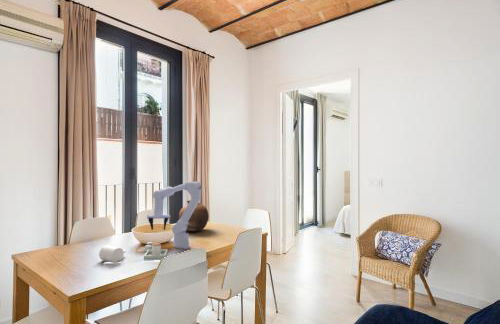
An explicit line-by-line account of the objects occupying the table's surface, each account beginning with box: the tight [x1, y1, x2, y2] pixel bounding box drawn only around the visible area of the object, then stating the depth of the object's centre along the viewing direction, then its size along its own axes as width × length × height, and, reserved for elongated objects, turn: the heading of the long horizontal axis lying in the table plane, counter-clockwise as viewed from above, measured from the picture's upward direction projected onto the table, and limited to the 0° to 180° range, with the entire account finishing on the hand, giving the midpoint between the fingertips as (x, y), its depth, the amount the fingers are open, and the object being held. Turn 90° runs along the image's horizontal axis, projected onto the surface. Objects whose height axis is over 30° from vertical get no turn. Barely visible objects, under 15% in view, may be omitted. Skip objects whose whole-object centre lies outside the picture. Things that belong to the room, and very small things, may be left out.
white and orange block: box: [151, 242, 162, 255], centre depth 171 cm, size 4×4×7 cm
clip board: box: [135, 241, 163, 253], centre depth 182 cm, size 14×10×4 cm
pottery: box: [178, 199, 210, 232], centre depth 234 cm, size 23×23×25 cm
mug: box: [98, 244, 126, 264], centre depth 164 cm, size 12×10×8 cm
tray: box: [143, 248, 169, 260], centre depth 171 cm, size 12×12×2 cm
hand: (158, 229), depth 193 cm, fingers open, 7 cm apart
